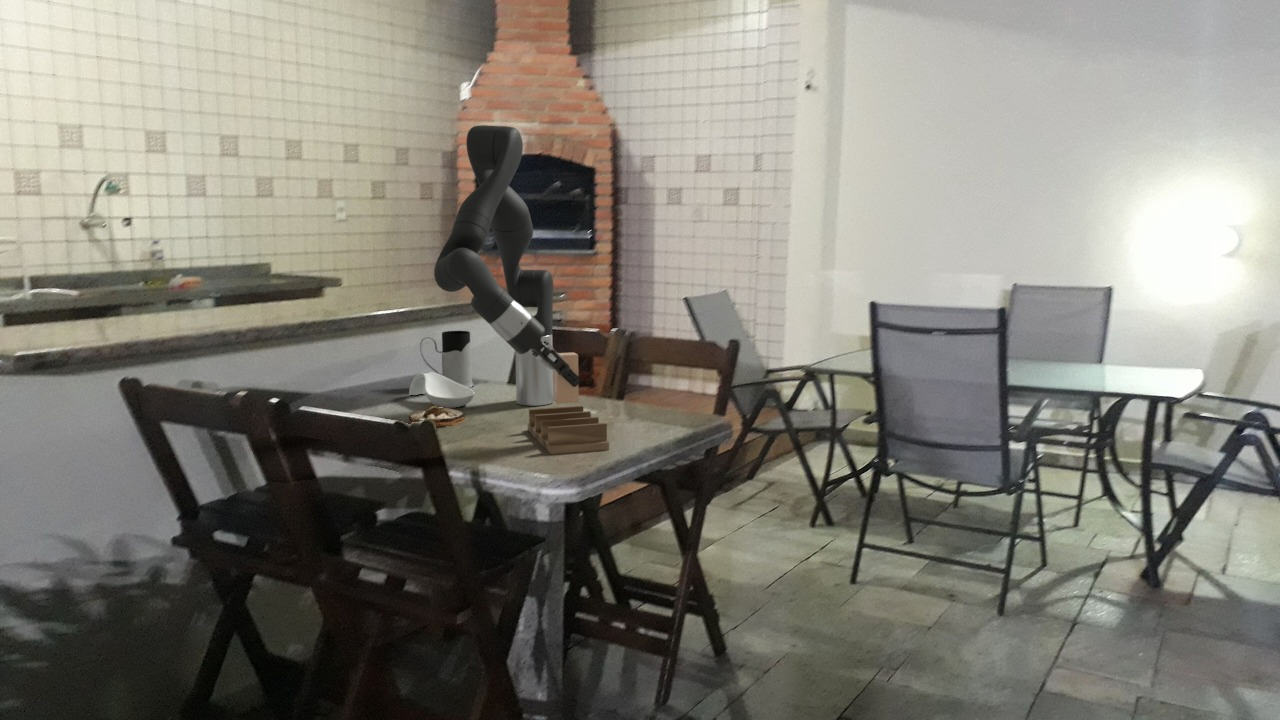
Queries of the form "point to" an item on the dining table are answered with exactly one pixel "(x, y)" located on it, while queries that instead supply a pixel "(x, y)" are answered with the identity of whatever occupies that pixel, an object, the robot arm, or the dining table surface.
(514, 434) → the dining table surface
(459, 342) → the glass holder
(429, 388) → the spoon rest
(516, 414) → the dining table surface
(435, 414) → the pie
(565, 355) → the clay block
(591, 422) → the walnut rack
